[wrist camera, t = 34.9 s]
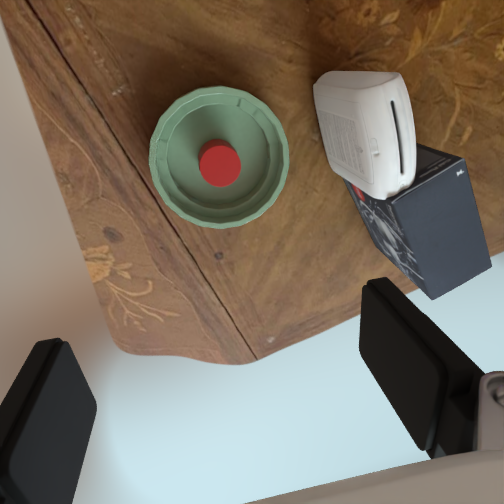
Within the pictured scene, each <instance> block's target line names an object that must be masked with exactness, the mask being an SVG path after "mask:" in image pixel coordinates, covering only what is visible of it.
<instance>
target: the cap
mask: <svg viewBox="0 0 504 504" xmlns="http://www.w3.org/2000/svg"><path fill="white" fill-rule="evenodd" d="M198 159H199V170H200V172H201V175H202V177H203V178H204V179H205V181H206V182H208V183H209V184H211V185H213V186H216V187H225V186H228V185H230V184H232V183H233V182H234V181H235V180H236V179H237V178H238V176H239V174H240V171H241V161H240V158H239V156H238V155H237V152H236V150H235V149H234V147H232V146H231V144H229V142H227V141H225V140H222V139H213V140H210V141H208V142H206V143H205V144H204V145H203V146H202V147H201V148H200V152H199V155H198Z"/></svg>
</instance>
